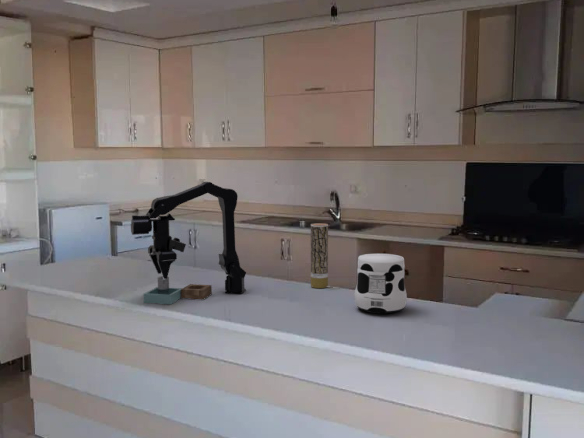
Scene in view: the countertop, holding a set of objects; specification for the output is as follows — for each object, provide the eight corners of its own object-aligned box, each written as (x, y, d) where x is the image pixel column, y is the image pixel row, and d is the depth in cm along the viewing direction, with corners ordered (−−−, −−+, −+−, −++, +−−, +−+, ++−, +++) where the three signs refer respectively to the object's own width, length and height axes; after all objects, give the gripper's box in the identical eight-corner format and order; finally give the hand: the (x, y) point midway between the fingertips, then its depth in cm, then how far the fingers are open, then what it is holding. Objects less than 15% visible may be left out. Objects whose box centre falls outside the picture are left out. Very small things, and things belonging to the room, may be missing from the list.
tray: (182, 297, 209) (182, 288, 209) (170, 304, 199) (170, 295, 199) (156, 295, 212) (156, 287, 211) (143, 302, 202) (143, 293, 201)
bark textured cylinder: (326, 289, 221) (326, 225, 218) (309, 288, 222) (309, 225, 219) (328, 285, 228) (329, 223, 225) (312, 284, 229) (312, 223, 226)
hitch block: (211, 294, 214) (211, 285, 213) (203, 299, 205) (203, 290, 205) (190, 293, 216) (190, 284, 215) (181, 298, 207) (180, 289, 207)
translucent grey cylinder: (171, 296, 207) (170, 276, 206) (166, 299, 203) (165, 278, 202) (161, 296, 208) (160, 276, 207) (156, 298, 204) (155, 278, 203)
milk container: (389, 301, 202) (390, 251, 200) (416, 313, 186) (417, 259, 184) (345, 306, 196) (346, 254, 194) (370, 319, 180) (370, 263, 178)
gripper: (190, 234, 198) (191, 278, 200) (176, 228, 215) (177, 269, 216) (158, 237, 193) (160, 281, 195) (147, 230, 210) (148, 272, 211)
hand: (162, 275), depth 204 cm, fingers open, 9 cm apart
